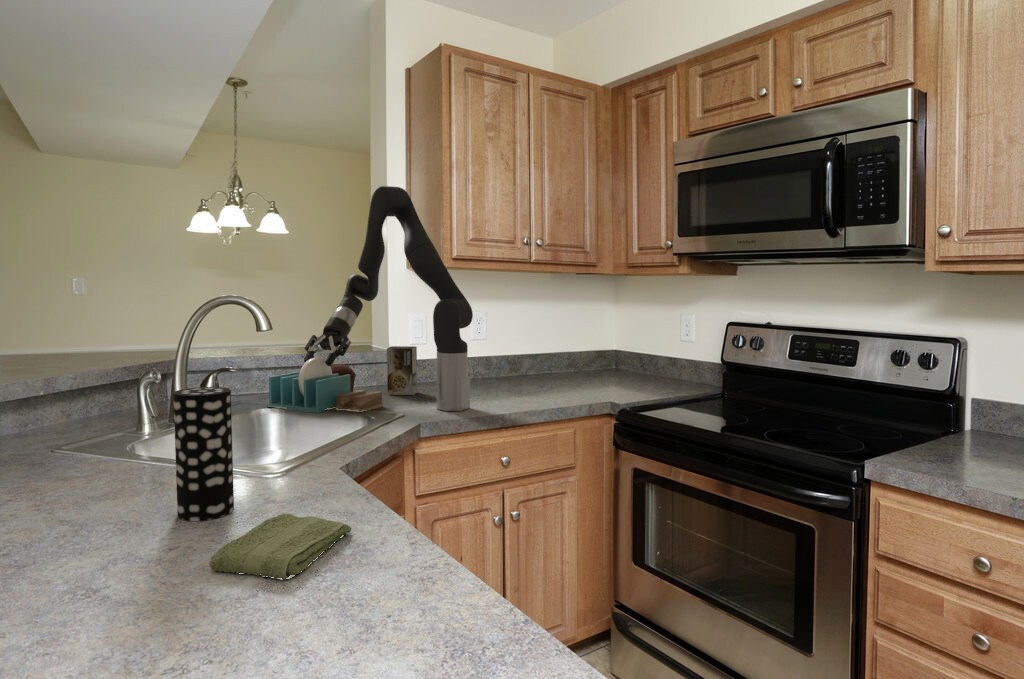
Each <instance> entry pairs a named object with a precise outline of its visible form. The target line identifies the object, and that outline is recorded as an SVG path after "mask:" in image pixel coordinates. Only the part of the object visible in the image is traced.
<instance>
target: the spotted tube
mask: <svg viewBox="0 0 1024 679" xmlns="http://www.w3.org/2000/svg"><path fill="white" fill-rule="evenodd" d="M172 395H173V419H174V424H173V425H174V446H175V447H174V448H175V449H174V450H175V451H174V452H175V455H174V456H175V473H176V474H175V479H176V507H177V508H176V510H177V513H176V514H177V518H178V519H180V520H181V521H186V522H187V521H188V522H203V521H211V520H216V519H220V518H222V517H226V516H227V515H229V514H231V513H232V512H234V510H235V502H234V500H235V498H234V496H235V495H234V465H233V464H234V461H233V423H232V420H233V418H232V389H231V388H229V387H222V386H203V387H201V386H200V387H192V388H191V387H190V388H183V389H179V390H176V391H174V392H173V394H172Z"/></svg>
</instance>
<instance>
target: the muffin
mask: <svg viewBox="0 0 1024 679" xmlns="http://www.w3.org/2000/svg"><path fill="white" fill-rule="evenodd" d="M330 367H331V370H332V374H339V376H343V375H350V392H352V391H354V386H355V379H356V377H357V374H356V373H355V371H354V370H353V369H352V368H351V367H350V366H349V365H346V364H332V365H331V366H330Z"/></svg>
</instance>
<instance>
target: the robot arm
mask: <svg viewBox="0 0 1024 679" xmlns="http://www.w3.org/2000/svg"><path fill="white" fill-rule="evenodd" d="M387 217H395V218H396V220H397V221H398V222H399V224H400V226H401V228H402V230H403V234H404V240H403V241H404V243H403V246H404V247H403V248H404V249H403V250H404V255H405V257H406V260H407V261H408V263H409V265H410V266H411V269H412V270H413V272H414V273H415V274H416V275H417V277H418V278H420V280H421V281H422V282H424V283H425V284H426V285H427V286H428V287H429V288H430V289H431V290H432V291H433V293H435V294H436V296H437V297H438V299H439V301H438V302H437V303H436V304H435V306H434V310H433V313H432V319H433V320H432V321H433V323H432V324H433V326H432V327H433V340H434V343H435V346H436V409H437V410H439V411H446V412H447V411H448V412H452V411H454V412H462V411H465V410H467V409H469V408H470V407H471V377H470V376H468V347H469V346H468V343H467V342H466V341H464V340H463V339H462V337H461V329H465V328H468V326H470V325H471V324H472V321H473V319H474V318H473V316H474V315H473V314H474V313H473V310H472V309H473V308H472V306H471V303H469V301H468V300H467V298H466V296H465V295H464V294H463V292H462V291H461V290H460V289H459V287H458V286H457V284H456V282H455V281H454V279H453V277H452V276H451V273H450V272H449V270H448V268H447V267H446V265H445V264H444V262H443V260H442V258H441V256H440V254H439V252H438V250H437V249H436V247H435V245H434V243H433V242H432V240H431V239H430V237H429V235H428V233H427V231H426V229H425V228H424V225H423V224H422V222H421V220H420V218H419V215H418V213H417V210H416V208H415V206H414V203H413V201H412V199H411V197H410V195H409V193H408V192H407V191H406V190H405V189H404V188H402V187H400V186H388V185H382V186H378V187H376V188H375V189H374V191H373V192H372V195H371V198H370V203H369V210H368V217H367V218H368V219H367V225H366V226H367V227H366V235H365V240H364V243H363V244H364V245H363V248H362V251H361V254H360V257H359V261H358V264H357V268H358V271H360V272H361V273H363V274H364V275H365V276H366V277H365V276H362V275H360V274H358V273H354V274H352V275H350V276H349V277H348V279H347V280H346V284H345V285H346V286H345V291H344V294H343V297H342V299H341V300H340V303H339V304H338V305H337V307H336V309H335V310H334V311H333V312H332V314H331V315H330V317H329V319H328V320H327V322H326V324H325V326H324V327H323V331H322V334H321V335H320V336H316V334H313V335H311V337H310V339H309V340H308V341H307V343H306V345H305V346H304V350H305V351H306V354H305V357H304V358H303V362H304V363H305V362H306V361H308V360H309V359H311V358H315V356H316V355H317V354H319V353H322V352H323V351H331V352H329V354H328V356H327V358H326V359H325V360H326V361H325V364H326V365H327V366H332V365H334V362H335V361H336V358H338V357H339V356H340V357H344V356H345V355H346V352H347V351H348V349H349V347H350V346H351V344H352V341H351V339H350V338H349V337H348V336H349V334H350V332H351V331H352V329H353V327H354V325H355V324H356V321H357V319H358V317H359V315H360V314H361V313H362V310H363V309H364V304H363V302H362V300H365V301H367V302H371V301H373V300H374V299H376V298H377V295H378V294H379V293H378V292H379V279H380V278H379V276H380V270H381V266H382V263H383V260H384V258H385V254H386V252H385V251H386V249H385V242H384V237H383V236H384V235H383V228H384V227H383V226H384V223H385V220H386V219H387ZM319 346H320V347H319Z"/></svg>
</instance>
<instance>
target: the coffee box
mask: <svg viewBox="0 0 1024 679" xmlns="http://www.w3.org/2000/svg"><path fill="white" fill-rule="evenodd" d="M417 354H418V351H417V346H408V345H407V346H406V345H405V346H404V345H402V346H401V345H398V346H397V345H395V346H394V345H392V346H389V347H387V348H386V364H387V365H386V367H387V369H386V371H387V378H386V379H387V384H386V385H387V396H388V395H392V396H396V395H398V396H401V395H402V396H414V395H415V394H416V393H418V364H417V362H418V360H417V358H418V357H417Z"/></svg>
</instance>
